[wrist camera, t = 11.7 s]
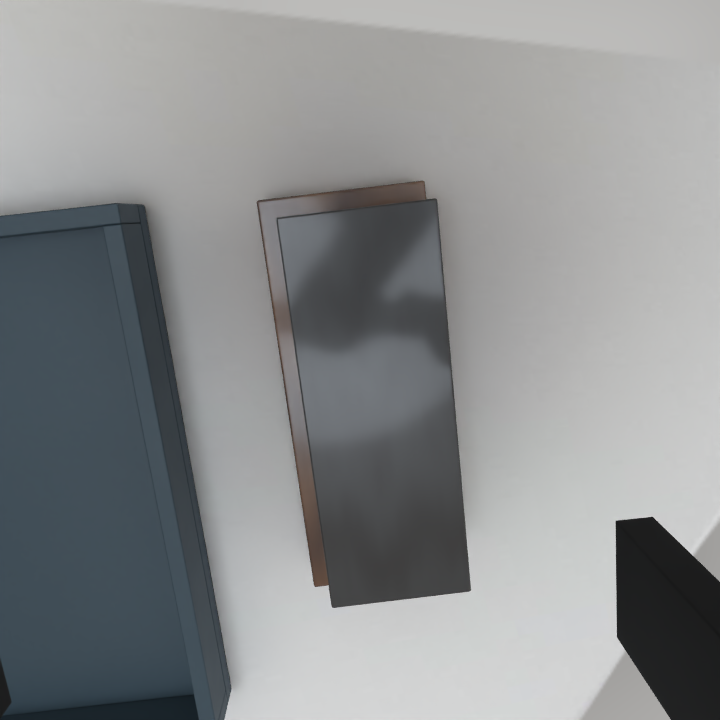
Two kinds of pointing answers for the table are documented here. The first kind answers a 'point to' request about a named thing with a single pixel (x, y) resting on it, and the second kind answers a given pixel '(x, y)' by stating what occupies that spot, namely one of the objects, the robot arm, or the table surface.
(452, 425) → the two-tone stacked slabs
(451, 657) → the table surface
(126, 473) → the tray
